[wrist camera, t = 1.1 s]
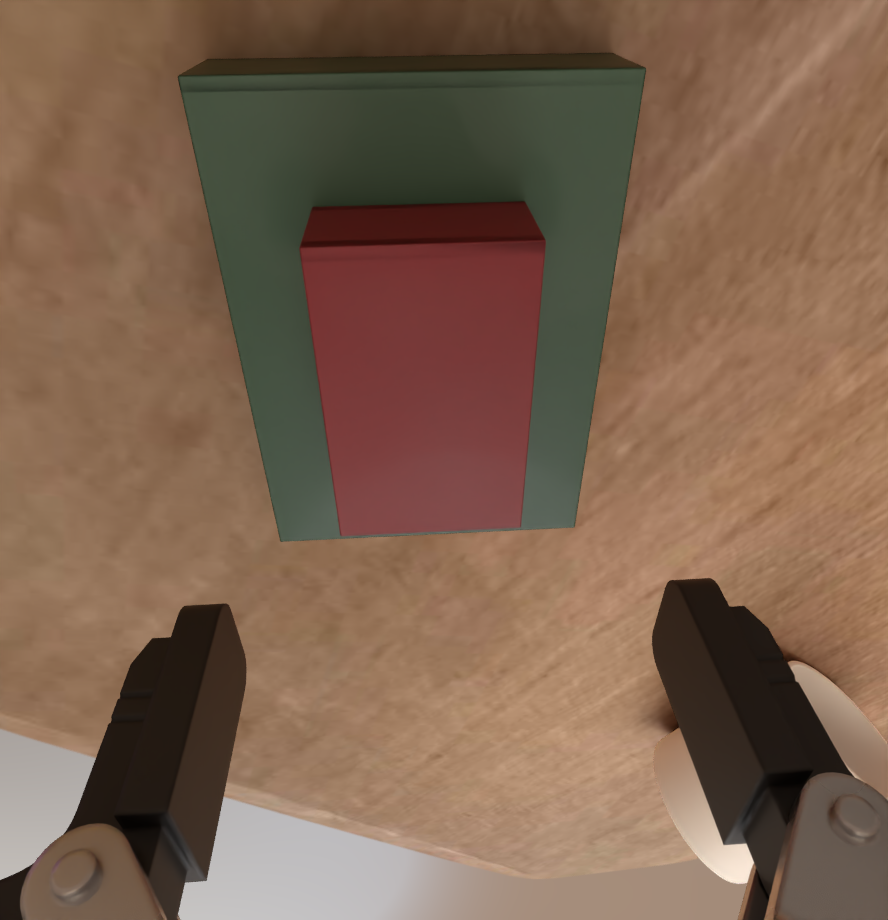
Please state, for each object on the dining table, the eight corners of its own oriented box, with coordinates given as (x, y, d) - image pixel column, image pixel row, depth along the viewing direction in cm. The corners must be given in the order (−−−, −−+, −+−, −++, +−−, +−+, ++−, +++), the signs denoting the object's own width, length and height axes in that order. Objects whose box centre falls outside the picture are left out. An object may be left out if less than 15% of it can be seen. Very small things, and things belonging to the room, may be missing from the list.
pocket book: (311, 206, 17) (298, 246, 15) (525, 201, 17) (546, 239, 15) (345, 475, 23) (340, 537, 20) (507, 468, 23) (521, 528, 20)
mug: (627, 716, 39) (672, 865, 32) (760, 632, 34) (842, 784, 28) (747, 770, 44) (807, 909, 37) (876, 702, 39) (968, 845, 33)
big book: (205, 58, 18) (176, 75, 15) (613, 52, 18) (646, 67, 16) (290, 489, 27) (280, 542, 24) (558, 477, 27) (574, 527, 25)
